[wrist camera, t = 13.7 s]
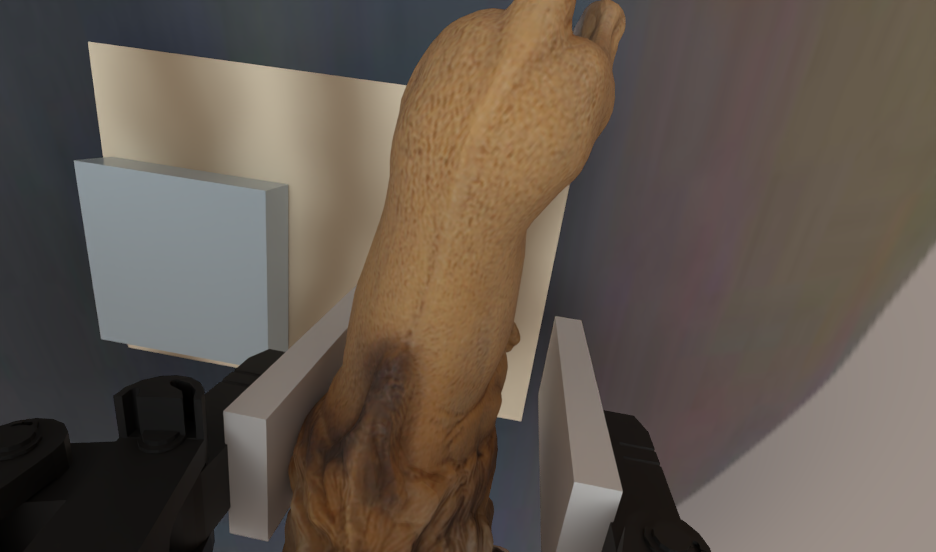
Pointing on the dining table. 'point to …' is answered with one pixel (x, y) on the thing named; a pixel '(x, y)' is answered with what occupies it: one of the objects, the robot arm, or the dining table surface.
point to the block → (186, 258)
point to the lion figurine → (450, 281)
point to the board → (294, 169)
